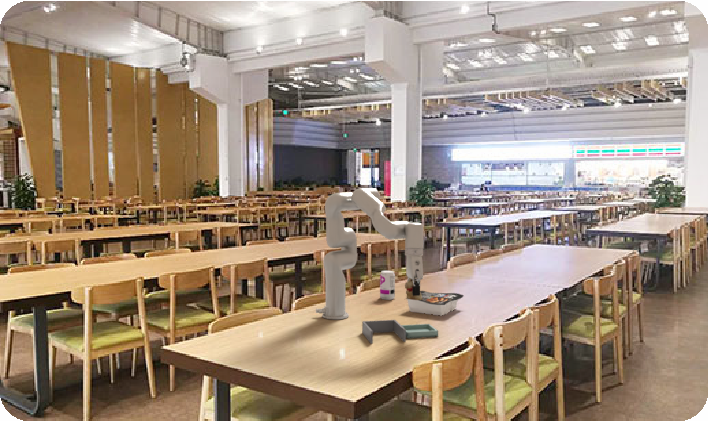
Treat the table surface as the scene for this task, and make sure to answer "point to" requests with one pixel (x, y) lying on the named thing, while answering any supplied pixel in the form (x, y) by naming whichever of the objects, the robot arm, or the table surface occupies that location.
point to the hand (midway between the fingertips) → (413, 293)
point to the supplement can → (387, 285)
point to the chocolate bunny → (409, 291)
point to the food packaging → (434, 303)
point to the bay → (382, 328)
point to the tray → (420, 331)
